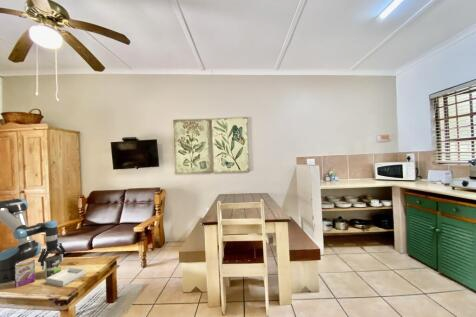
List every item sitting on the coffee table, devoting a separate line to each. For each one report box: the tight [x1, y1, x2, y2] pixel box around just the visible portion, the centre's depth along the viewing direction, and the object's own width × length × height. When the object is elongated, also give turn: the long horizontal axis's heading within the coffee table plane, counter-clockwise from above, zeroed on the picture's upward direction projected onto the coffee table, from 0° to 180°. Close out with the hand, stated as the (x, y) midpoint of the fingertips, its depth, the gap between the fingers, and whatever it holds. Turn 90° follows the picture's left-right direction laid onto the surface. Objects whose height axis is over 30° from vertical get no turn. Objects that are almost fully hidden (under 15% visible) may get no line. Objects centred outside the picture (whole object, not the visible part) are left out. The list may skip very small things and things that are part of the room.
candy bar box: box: [14, 259, 36, 288], centre depth 174 cm, size 11×5×16 cm, turn 131°
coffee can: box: [44, 254, 61, 279], centre depth 186 cm, size 10×10×14 cm
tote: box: [45, 266, 87, 287], centre depth 180 cm, size 18×18×4 cm
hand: (52, 265), depth 186 cm, fingers open, 13 cm apart
